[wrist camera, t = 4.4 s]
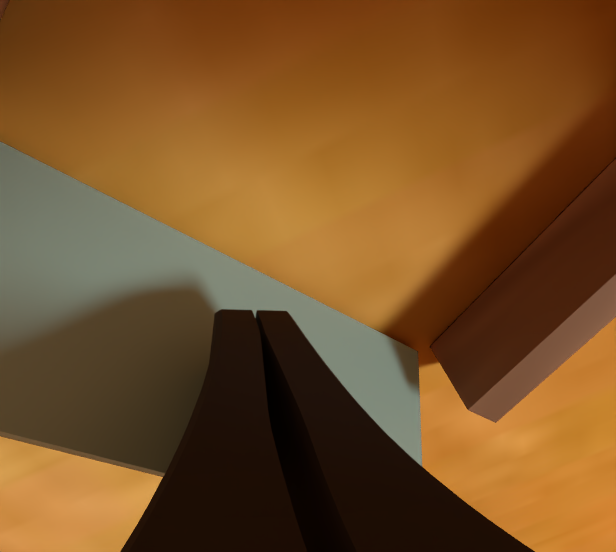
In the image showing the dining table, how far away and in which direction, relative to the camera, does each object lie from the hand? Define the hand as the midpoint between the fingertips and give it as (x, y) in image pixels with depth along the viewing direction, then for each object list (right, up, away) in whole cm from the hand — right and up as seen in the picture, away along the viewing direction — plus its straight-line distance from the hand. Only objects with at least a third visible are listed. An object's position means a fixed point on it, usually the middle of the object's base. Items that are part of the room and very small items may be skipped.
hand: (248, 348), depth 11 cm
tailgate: (0, +2, +2) cm, 3 cm away
